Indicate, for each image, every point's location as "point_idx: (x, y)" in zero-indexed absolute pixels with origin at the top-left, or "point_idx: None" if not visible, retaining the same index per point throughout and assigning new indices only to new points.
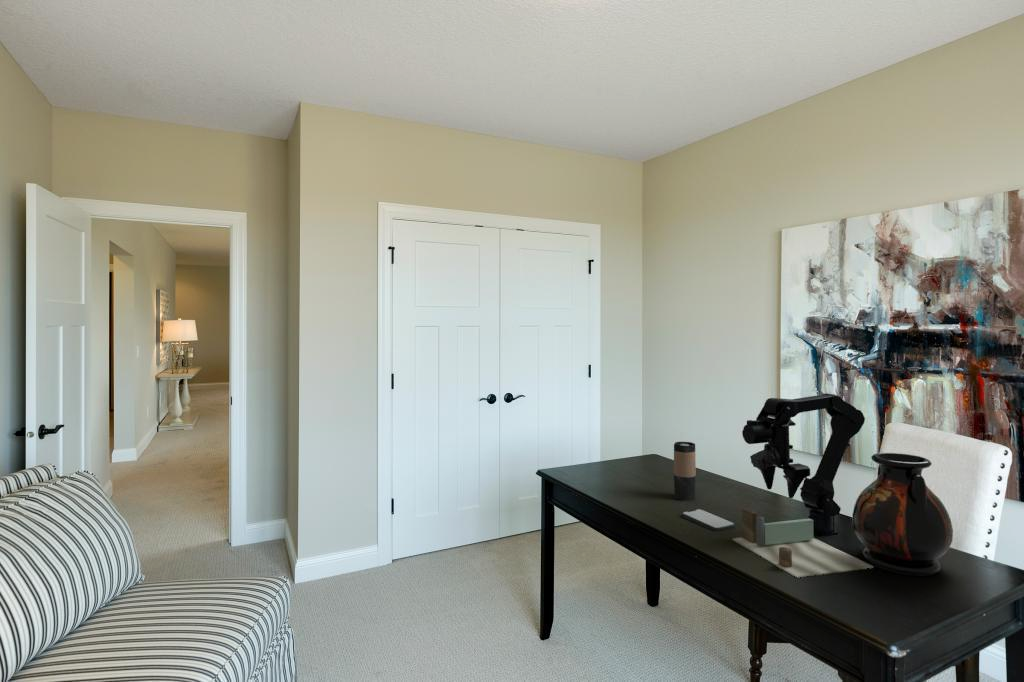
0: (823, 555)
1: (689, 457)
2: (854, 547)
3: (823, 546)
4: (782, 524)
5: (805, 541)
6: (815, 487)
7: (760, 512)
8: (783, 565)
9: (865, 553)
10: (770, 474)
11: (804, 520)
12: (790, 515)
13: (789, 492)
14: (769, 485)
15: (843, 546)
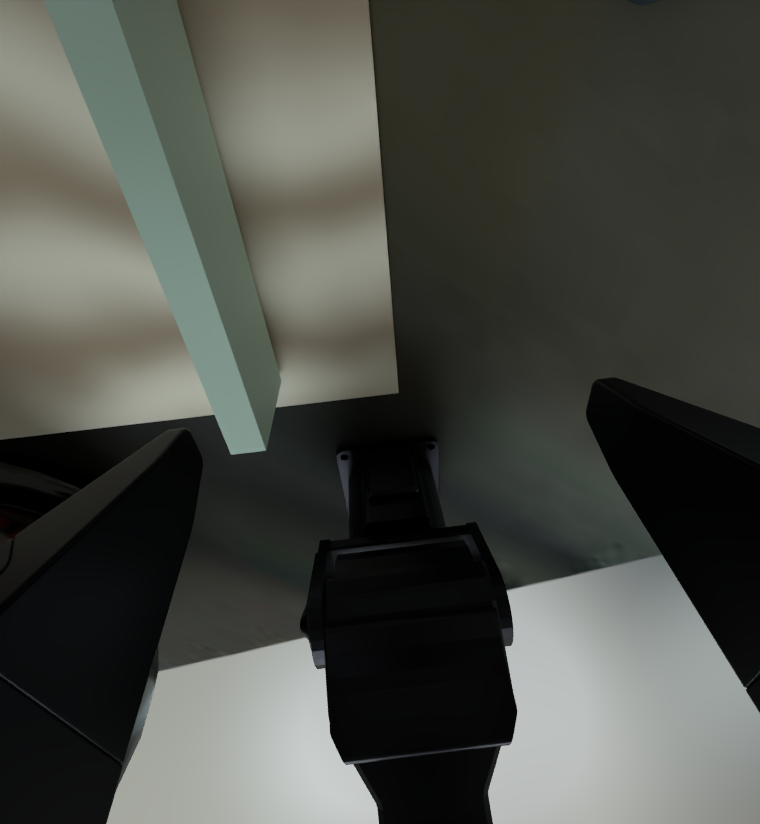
0: (32, 312)
1: None
2: (202, 491)
3: (179, 384)
4: (122, 179)
5: None
6: (371, 693)
7: (715, 363)
8: None
9: (18, 477)
10: (752, 593)
11: (221, 403)
12: (601, 463)
13: (111, 475)
14: (618, 425)
15: (211, 463)
